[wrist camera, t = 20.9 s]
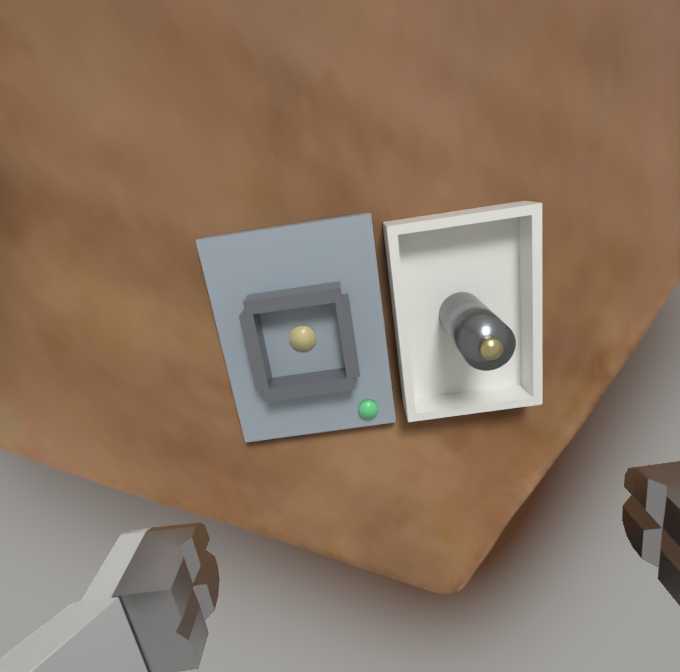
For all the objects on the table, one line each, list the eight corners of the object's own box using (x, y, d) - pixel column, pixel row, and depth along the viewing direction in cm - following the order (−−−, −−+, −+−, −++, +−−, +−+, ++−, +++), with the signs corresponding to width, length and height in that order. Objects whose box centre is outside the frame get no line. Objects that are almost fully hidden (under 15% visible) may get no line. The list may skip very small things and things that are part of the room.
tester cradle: (200, 237, 41) (186, 244, 37) (369, 212, 40) (373, 216, 36) (247, 434, 47) (240, 457, 43) (394, 414, 47) (399, 435, 43)
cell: (437, 295, 42) (463, 328, 33) (481, 288, 42) (519, 320, 33) (440, 336, 43) (466, 378, 35) (483, 330, 43) (520, 371, 34)
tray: (382, 222, 40) (386, 226, 37) (524, 200, 40) (542, 203, 37) (402, 404, 46) (408, 422, 43) (527, 387, 46) (542, 404, 43)
